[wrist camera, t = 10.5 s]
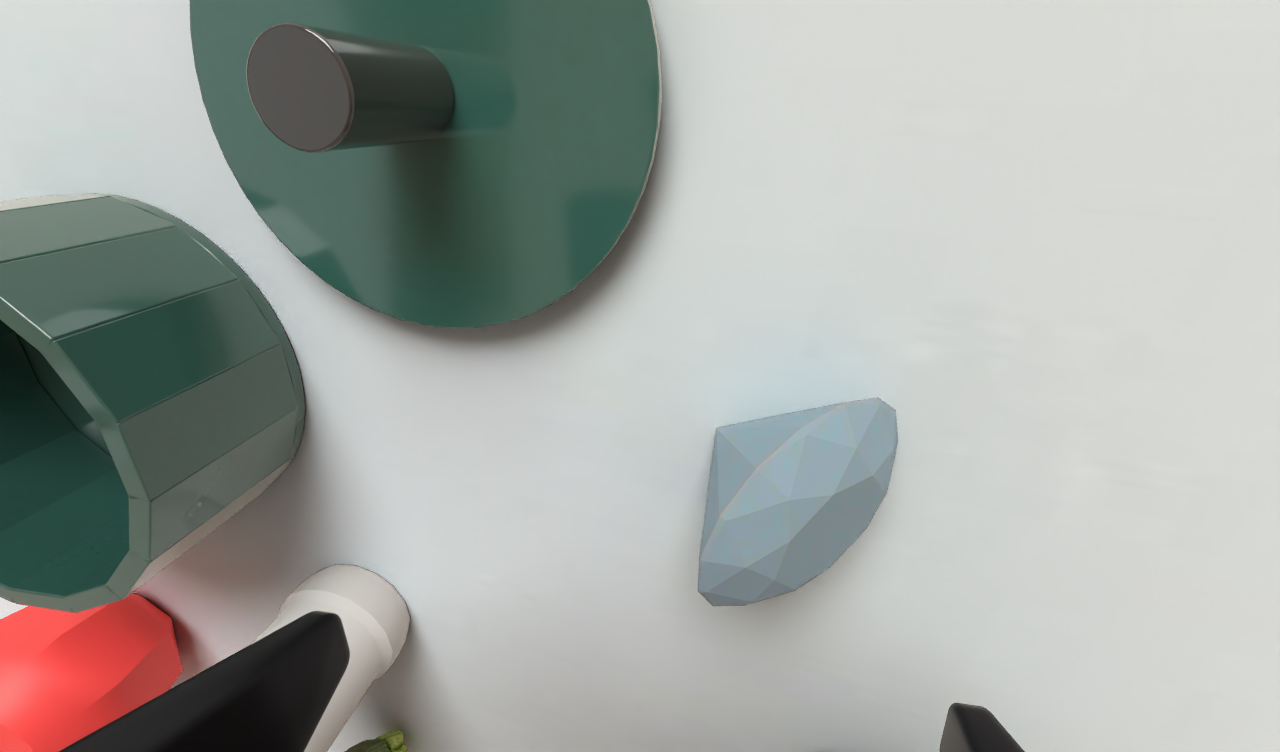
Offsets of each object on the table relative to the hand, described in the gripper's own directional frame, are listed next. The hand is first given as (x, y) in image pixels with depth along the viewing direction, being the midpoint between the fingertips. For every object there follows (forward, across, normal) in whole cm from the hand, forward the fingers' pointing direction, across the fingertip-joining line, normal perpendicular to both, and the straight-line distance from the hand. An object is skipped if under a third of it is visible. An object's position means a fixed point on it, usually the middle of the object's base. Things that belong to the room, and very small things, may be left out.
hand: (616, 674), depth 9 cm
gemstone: (+12, -3, +3) cm, 13 cm away
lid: (+11, +8, -8) cm, 16 cm away
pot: (+11, +21, +1) cm, 24 cm away
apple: (+12, +28, +15) cm, 34 cm away
